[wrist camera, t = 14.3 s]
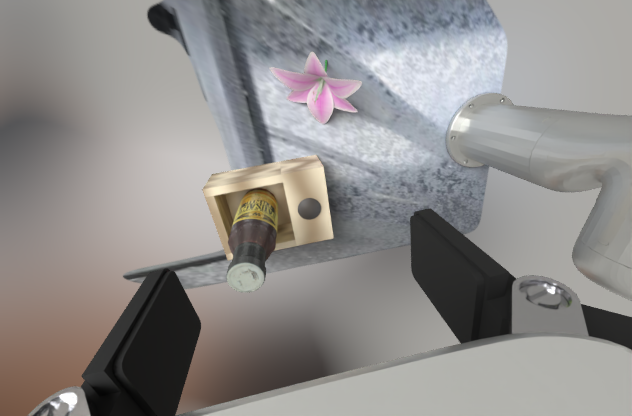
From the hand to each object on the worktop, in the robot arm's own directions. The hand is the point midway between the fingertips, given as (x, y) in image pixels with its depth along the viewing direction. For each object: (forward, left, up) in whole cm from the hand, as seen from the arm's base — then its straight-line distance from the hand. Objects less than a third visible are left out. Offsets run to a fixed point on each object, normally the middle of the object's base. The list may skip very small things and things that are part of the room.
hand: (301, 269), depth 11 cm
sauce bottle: (+6, +11, -35) cm, 37 cm away
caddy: (+3, +11, -36) cm, 38 cm away
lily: (-6, -5, -36) cm, 37 cm away
